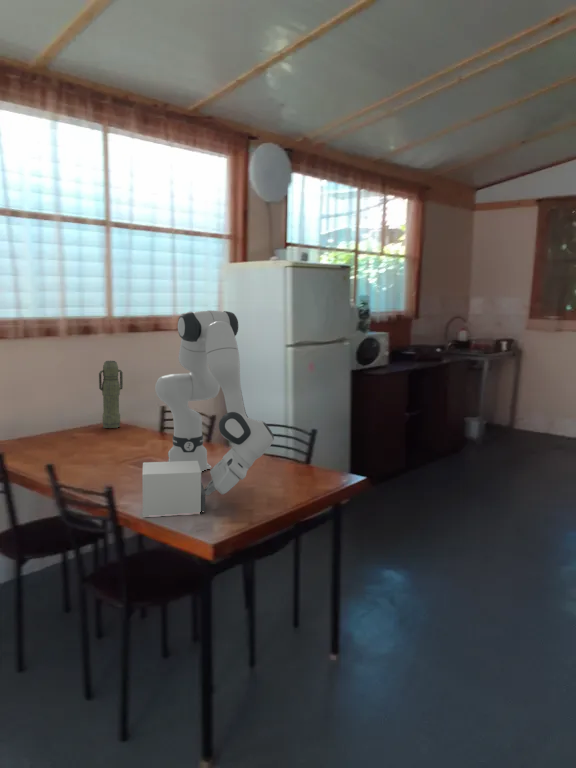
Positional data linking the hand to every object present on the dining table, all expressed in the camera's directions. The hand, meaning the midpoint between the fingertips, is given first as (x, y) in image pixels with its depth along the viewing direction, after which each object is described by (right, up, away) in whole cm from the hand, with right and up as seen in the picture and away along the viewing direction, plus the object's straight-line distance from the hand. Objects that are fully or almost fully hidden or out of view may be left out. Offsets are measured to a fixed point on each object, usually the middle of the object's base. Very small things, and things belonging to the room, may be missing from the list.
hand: (205, 493), depth 198 cm
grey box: (-11, -5, -2) cm, 12 cm away
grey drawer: (-9, -4, -1) cm, 10 cm away
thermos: (-66, +13, +119) cm, 136 cm away
